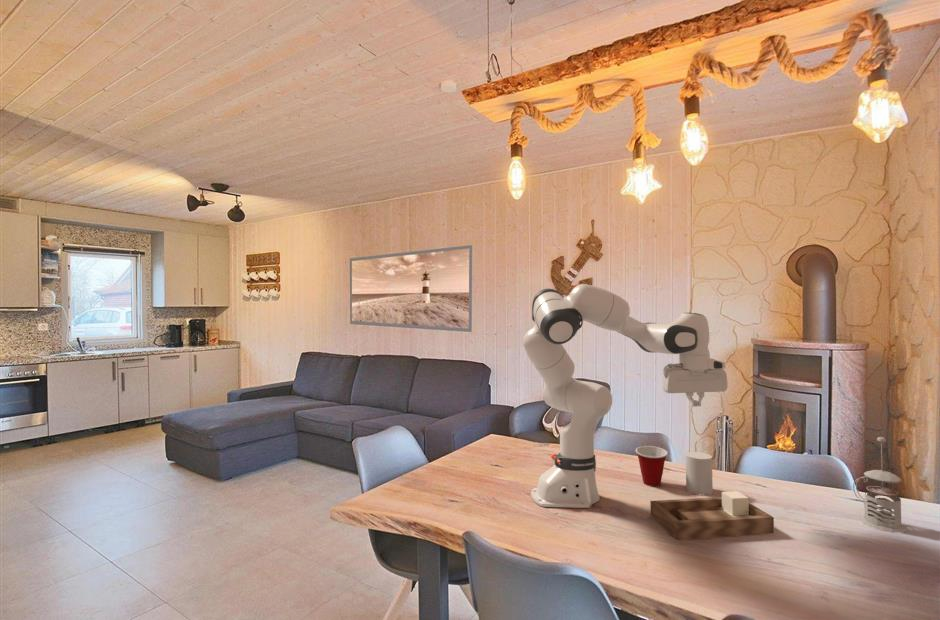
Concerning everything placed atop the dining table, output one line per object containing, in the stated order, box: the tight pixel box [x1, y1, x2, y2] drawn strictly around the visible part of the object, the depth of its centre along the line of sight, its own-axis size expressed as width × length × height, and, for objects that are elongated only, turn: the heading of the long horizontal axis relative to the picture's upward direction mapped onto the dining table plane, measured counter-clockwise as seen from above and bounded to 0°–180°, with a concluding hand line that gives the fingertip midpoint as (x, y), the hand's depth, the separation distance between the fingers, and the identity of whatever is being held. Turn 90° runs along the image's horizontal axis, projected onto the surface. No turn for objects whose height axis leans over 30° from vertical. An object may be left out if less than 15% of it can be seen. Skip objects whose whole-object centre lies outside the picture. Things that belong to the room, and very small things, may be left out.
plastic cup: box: [635, 445, 669, 487], centre depth 167 cm, size 11×11×12 cm
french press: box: [852, 436, 907, 533], centre depth 134 cm, size 10×12×25 cm
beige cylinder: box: [685, 451, 714, 496], centre depth 160 cm, size 8×8×12 cm
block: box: [721, 490, 750, 516], centre depth 138 cm, size 5×5×5 cm
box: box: [649, 496, 775, 541], centre depth 135 cm, size 28×15×4 cm, turn 95°
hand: (695, 406), depth 150 cm, fingers closed
